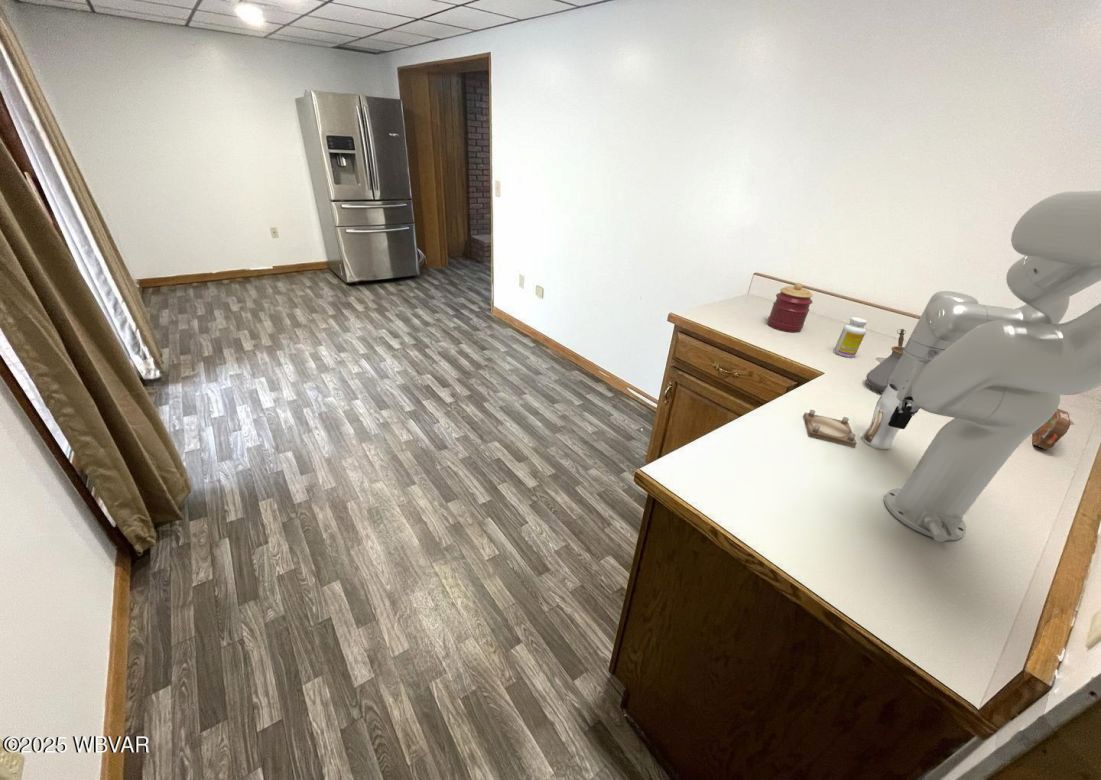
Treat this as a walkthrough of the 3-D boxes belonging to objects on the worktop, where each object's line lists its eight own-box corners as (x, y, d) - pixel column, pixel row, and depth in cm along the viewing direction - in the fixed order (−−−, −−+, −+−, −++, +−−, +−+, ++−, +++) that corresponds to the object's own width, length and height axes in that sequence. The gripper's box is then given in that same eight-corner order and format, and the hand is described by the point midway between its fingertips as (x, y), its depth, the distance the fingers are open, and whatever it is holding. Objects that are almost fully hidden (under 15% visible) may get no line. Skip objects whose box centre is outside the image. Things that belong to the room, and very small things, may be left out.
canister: (762, 319, 179) (776, 277, 170) (794, 322, 177) (810, 280, 169) (772, 330, 167) (787, 286, 158) (806, 334, 166) (824, 290, 157)
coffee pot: (909, 403, 123) (936, 356, 115) (863, 391, 128) (886, 345, 120) (902, 375, 139) (925, 332, 132) (861, 365, 144) (881, 323, 136)
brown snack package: (1032, 427, 116) (1052, 401, 112) (1048, 433, 114) (1069, 406, 110) (1031, 450, 106) (1054, 422, 102) (1049, 456, 104) (1072, 428, 100)
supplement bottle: (858, 358, 149) (875, 323, 142) (839, 357, 149) (855, 322, 142) (847, 350, 155) (863, 316, 148) (829, 349, 155) (844, 315, 148)
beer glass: (898, 453, 101) (930, 399, 93) (866, 448, 102) (895, 394, 94) (884, 436, 107) (914, 384, 99) (854, 431, 108) (881, 379, 100)
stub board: (854, 447, 102) (859, 438, 101) (808, 436, 105) (812, 427, 103) (845, 425, 110) (850, 417, 109) (803, 416, 113) (807, 407, 111)
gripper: (965, 370, 84) (921, 440, 93) (932, 339, 98) (896, 402, 107) (920, 362, 86) (881, 431, 95) (894, 332, 100) (862, 395, 109)
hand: (889, 416), depth 101 cm, fingers open, 9 cm apart
